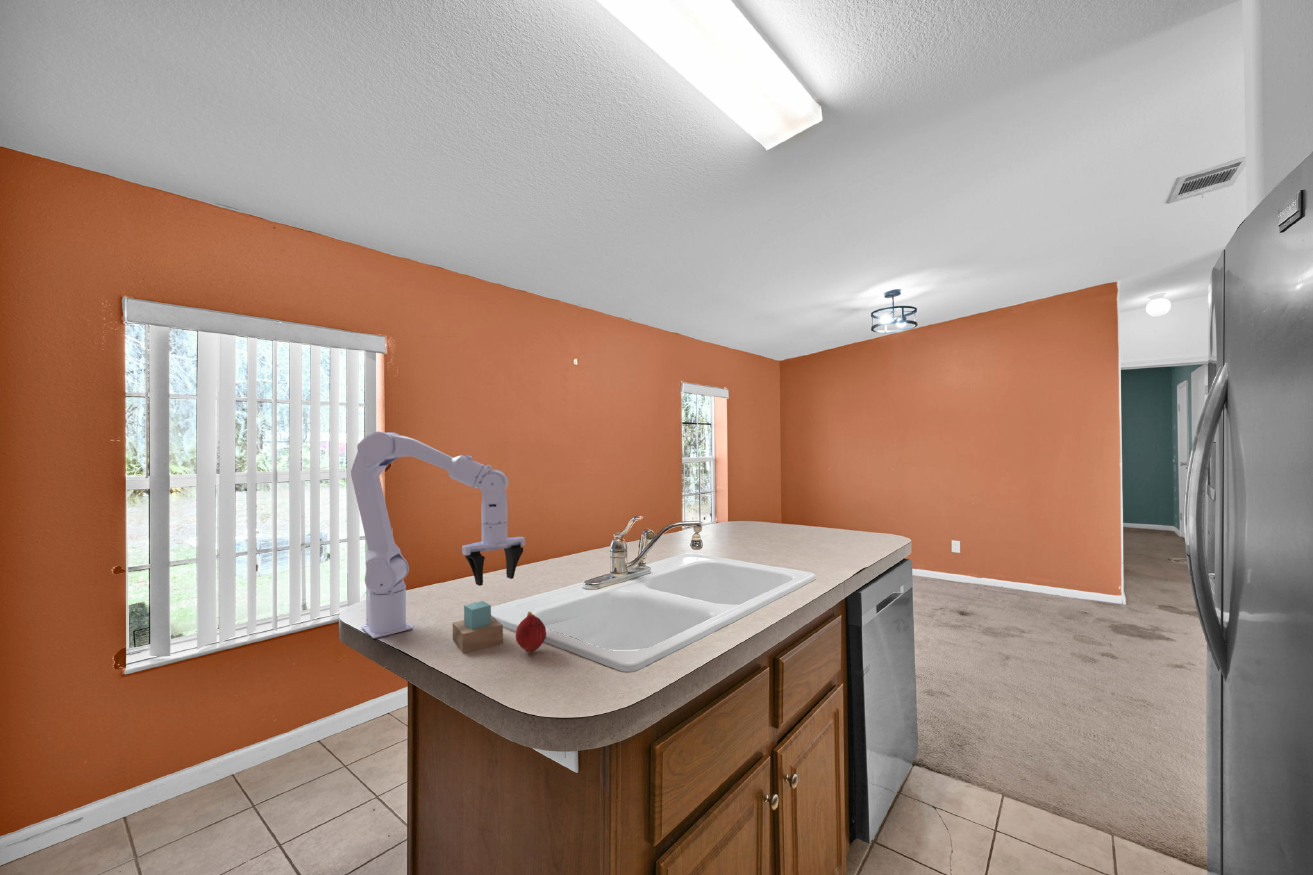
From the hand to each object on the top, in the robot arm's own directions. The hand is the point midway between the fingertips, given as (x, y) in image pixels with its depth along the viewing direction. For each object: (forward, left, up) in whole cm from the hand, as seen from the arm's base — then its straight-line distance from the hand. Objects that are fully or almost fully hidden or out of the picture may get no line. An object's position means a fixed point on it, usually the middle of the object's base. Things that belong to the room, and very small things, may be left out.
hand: (495, 581), depth 115 cm
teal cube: (+8, -8, -6) cm, 13 cm away
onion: (+21, -3, -10) cm, 23 cm away
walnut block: (+8, -8, -10) cm, 15 cm away
